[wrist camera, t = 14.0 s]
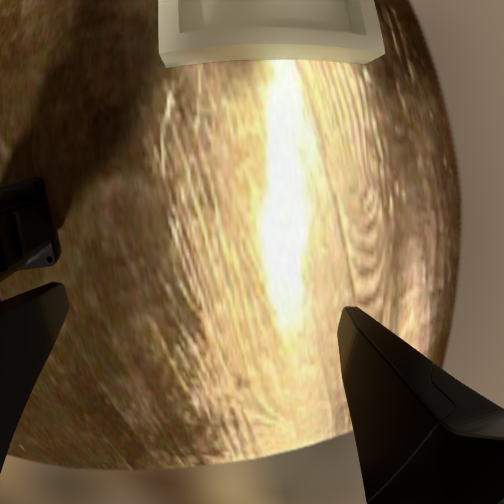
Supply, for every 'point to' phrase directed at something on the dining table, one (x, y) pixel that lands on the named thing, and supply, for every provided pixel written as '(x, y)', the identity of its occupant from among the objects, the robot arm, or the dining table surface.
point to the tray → (268, 31)
